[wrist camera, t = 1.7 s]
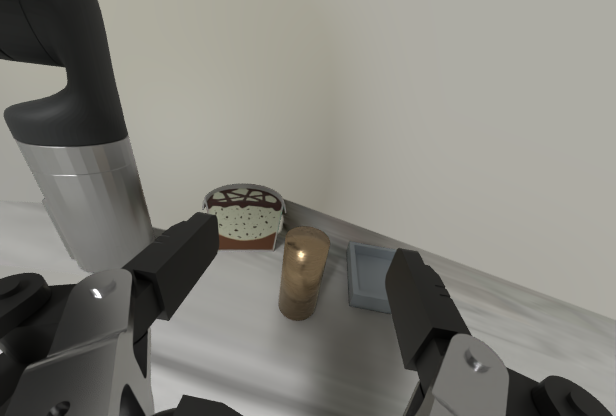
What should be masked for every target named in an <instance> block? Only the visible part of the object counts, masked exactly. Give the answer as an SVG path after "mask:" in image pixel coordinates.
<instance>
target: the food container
mask: <svg viewBox="0 0 616 416" xmlns="http://www.w3.org/2000/svg"><path fill="white" fill-rule="evenodd" d="M205 207H206V208H207V212H208V214H212V215H216V216H217V219H218V230H219V249H218V251H274V248H275V243H276V238H277V234H278V229H279V224H280V219H281V215H282V210H283V208H284V210H285V213H286V207H285V203H284V200H283V198H282V196H281V195H280V194H279V193H277V192H276V191H274V190H273V189H270V188H268V187H265V186H261V185H255V184H232V185H226V186H222V187H219V188H217V189H214V190H213V191H211V192H209V193H208V194H207V195H206V196H205V200H204V201H203V207H202V210H204V208H205Z"/></svg>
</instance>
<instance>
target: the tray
mask: <svg viewBox="0 0 616 416" xmlns="http://www.w3.org/2000/svg"><path fill="white" fill-rule="evenodd" d="M395 252H396V250H395V249H390V248H384V247H379V246H373V245H368V244H362V243H357V242H351V241H350V242H349V245H348V249H347V270H348V291H349V306H352V307H358V308H363V309H368V310H373V311H378V312H383V313H388V314H391V309H390V305H389V301H388V297H387V293H386V289H385V278H386V274H387V271H388V269H389V267H390V264H391V262H392V259H393V257H394V255H395Z"/></svg>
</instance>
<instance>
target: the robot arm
mask: <svg viewBox="0 0 616 416" xmlns="http://www.w3.org/2000/svg"><path fill="white" fill-rule="evenodd" d="M0 59H4V60H10V61H17V62H26V63H34V64H42V65H51V66H59V67H66V72H67V80H68V81H67V86H66V87H65V88H64V89H63V90H61V91H60V92H58V93H56V94H54V95H52V96H50V97H46V98H42V99H38V100H33V101H28V102H23V103H19V104H15V105H12V106H10V107H8V108H6V110H5V111H4V118H5V121H6V123H7V125H8V127H9V129H10V131H11V133H12V135H13V137H14V139H15V141H16V143H17V145H18V146H19V148H20V151H21V153H22V154H23V156H24V158H25V160H26V162H27V164H28V166H29V168H30V170H31V172H32V174H33V176H34V178H35V180H36V182H37V184H38V185H39V187H40V190H41V192H42V194H43V195H44V197H45V198H44V199H43V200H42V203H43V205H44V207H45V209H46V211H47V213H48V215H49V216H50V218H51V220H52V222H53V224H54V226H55V228H56V230H57V232H58V234H59V236H60V238H61V240H62V241H63V243H64V245H65V247H66V249H67V251H68V253H69V255H70V257H71V258H72V259H76V261H77V263H78V265H79V266H80V267H81V268H82V269H83V270H85V271H88V272H93V273H94V274H92V275H90V276H88V277H86V278H85V279H83V280H82V281H80V282H79V283H78V284H69V285H54V286H48V284H47V283H46V281H45V280H44V278H43V277H42V276H41V275H39V274H36V273H23V274H17V275H12V276H8V277H5V278H2V279H0V349H1V350H2V351H3V353H2V354H0V416H243V415H241V414H240V413H238V412H236V411H235V410H233V409H232V408H230V407H228V406H227V405H225V404H224V403H221V402H216V401H211V400H207V399H202V398H197V397H192V396H188V395H183V396H182V398H181V400H180V402H179V404H178V406H177V408H172V409H169V410H165V411H161V412H159V413H156V414H155V413H154V402H153V395H152V390H151V328H150V326H151V325H152V323H153V322H154V321H155V320H156V318H157V319H162V320H167V321H169V320H170V318H171V317H172V316H173V314H174V313H175V312H176V310H177V309H178V307H179V306H180V305H181V303H182V302H183V301H184V299H185V298H186V296H187V295H188V294H189V292H190V291H191V290H192V288H193V287H194V285H195V284H196V283H197V281H198V280H199V278H200V277H201V276H202V274H203V273H204V272H205V270H206V269H207V267H208V266H209V265H210V263H211V262H212V261H213V259H214V258H215V256H216V255H217V252H218V249H219V230H218V219H217V216H216V215H212V214H207V213H201V212H197V213H195V214H194V215H193V216H192V217H191V218H190V219H189V220H188V221H182V222H180V223H178V224H176V225H174V226H171V227H170V228H169V229H168V230H166V231H165V232H164V233H163V234H162V236H159V237H158V238H157V239H156V240H155V237H154V233H153V229H152V225H151V220H150V217H149V213H148V209H147V205H146V201H145V197H144V193H143V189H142V186H141V182H140V178H139V174H138V170H137V166H136V162H135V159H134V155H133V151H132V147H131V143H130V140H129V136H128V132H127V128H126V124H125V121H124V116H123V112H122V107H121V103H120V99H119V95H118V91H117V87H116V82H115V78H114V73H113V68H112V63H111V58H110V52H109V47H108V42H107V36H106V31H105V27H104V22H103V18H102V14H101V10H100V7H99V3H98V1H97V0H0ZM385 289H386V293H387V297H388V301H389V305H390V309H391V314H392V318H393V322H394V326H395V330H396V334H397V339H398V343H399V347H400V351H401V355H402V359H403V364H404V368H405V369H408V370H413V371H417V372H418V376H419V379H420V380H419V381H418V383H417V385H416V387H415V389H414V391H413V394H412V396H411V398H410V400H409V403H408V405H407V407H406V409H405V412H404V414H403V416H613V415H612V414H611V413H610V412H609V411H608V410H607V409H606V408H605V407H604V406H603V405H602V404H601V403H600V402H599V401H598V400H597V399H596V398H595V397H594V396H592V395H591V394H590V393H589V392H587V391H586V390H585V389H583V388H582V387H580V386H579V385H577V384H575V383H573V382H572V381H570V380H568V379H565V378H563V377H559V376H548V377H547V378H545V379H544V380H543V381H541V382H540V383H538V382H536V381H534V380H532V379H530V378H528V377H526V376H524V375H522V374H519V373H517V372H515V371H513V370H511V369H509V368H507V367H506V366H505V365H504V363H503V361H502V360H501V359H500V357H499V356H498V355H497V354H496V353H495V352H494V351H493V350H492V349H491V348H490V347H489V346H488V345H487V344H485V343H484V342H482V341H481V340H479V339H477V338H475V337H473V336H472V335H471V333H470V331H469V330H468V328H467V326H466V324H465V322H464V320H463V319H462V317H461V315H460V313H459V311H458V309H457V308H456V306H455V304H454V302H453V300H452V299H451V298H450V295H449V293H448V291H447V289H445V285H444V284H443V282H442V280H441V278H440V276H439V275H438V274H437V273H436V272H435V271H434V270H433V269H432V268H431V267H430V266H428V265H425V264H424V262H423V260H422V258H421V256H420V254H419V253H418V252H417V251H412V250H407V249H401V248H398V249H397V250H396V252H395V255H394V257H393V259H392V262H391V264H390V267H389V269H388V271H387V274H386V278H385Z"/></svg>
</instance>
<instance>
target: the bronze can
mask: <svg viewBox="0 0 616 416" xmlns="http://www.w3.org/2000/svg"><path fill="white" fill-rule="evenodd" d="M329 246H330V240H329V238H328V236H327V235H326V234H325V233H324V232H322V231H321V230H319V229H316V228H313V227H307V226H301V227H296V228H293V229H291V230H290V231H288V233H287V234H286V237H285V247H284V256H283V266H282V275H281V284H280V294H279V309H280V311H281V313H282V314H283V315H284V316H285V317H287V318H289V319H291V320H295V321H300V320H305V319H307V318H309V317H310V316H311V315H312V314H313V312H314V310H315V306H316V302H317V297H318V293H319V289H320V285H321V280H322V276H323V272H324V268H325V263H326V259H327V255H328V251H329Z"/></svg>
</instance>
